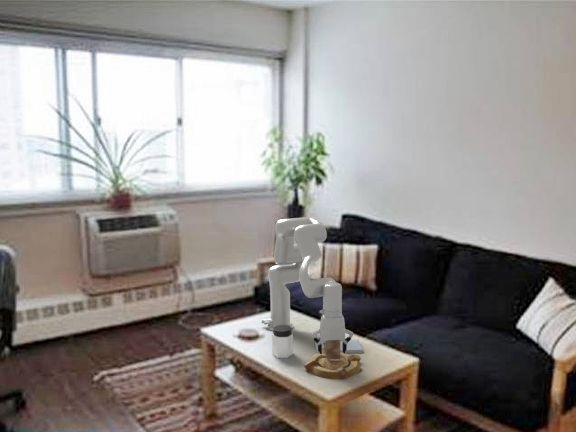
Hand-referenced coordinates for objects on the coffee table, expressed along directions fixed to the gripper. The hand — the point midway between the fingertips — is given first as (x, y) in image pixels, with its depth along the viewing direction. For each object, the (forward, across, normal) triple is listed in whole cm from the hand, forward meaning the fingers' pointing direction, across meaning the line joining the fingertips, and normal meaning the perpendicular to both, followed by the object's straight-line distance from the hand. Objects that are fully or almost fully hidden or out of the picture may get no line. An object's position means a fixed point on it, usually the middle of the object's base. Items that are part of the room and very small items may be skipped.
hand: (332, 352), depth 232 cm
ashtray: (+7, 0, -1) cm, 7 cm away
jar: (+6, -20, +13) cm, 25 cm away
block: (+2, 0, 0) cm, 2 cm away
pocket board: (+6, +5, +18) cm, 20 cm away
